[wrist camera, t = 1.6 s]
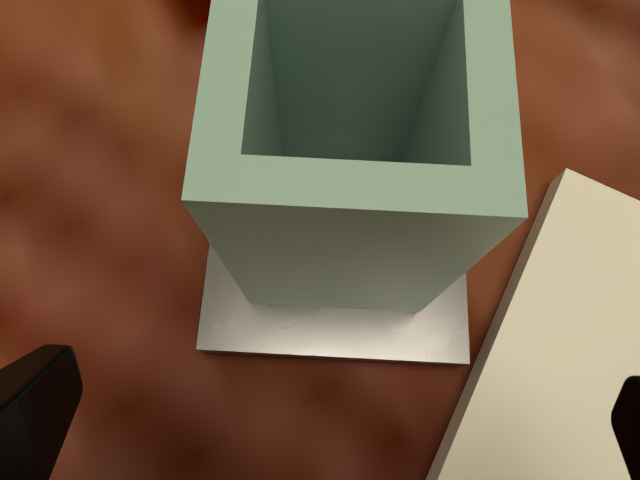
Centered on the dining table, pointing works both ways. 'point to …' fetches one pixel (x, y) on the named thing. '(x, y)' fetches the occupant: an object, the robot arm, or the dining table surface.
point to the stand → (331, 327)
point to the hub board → (555, 348)
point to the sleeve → (355, 147)
